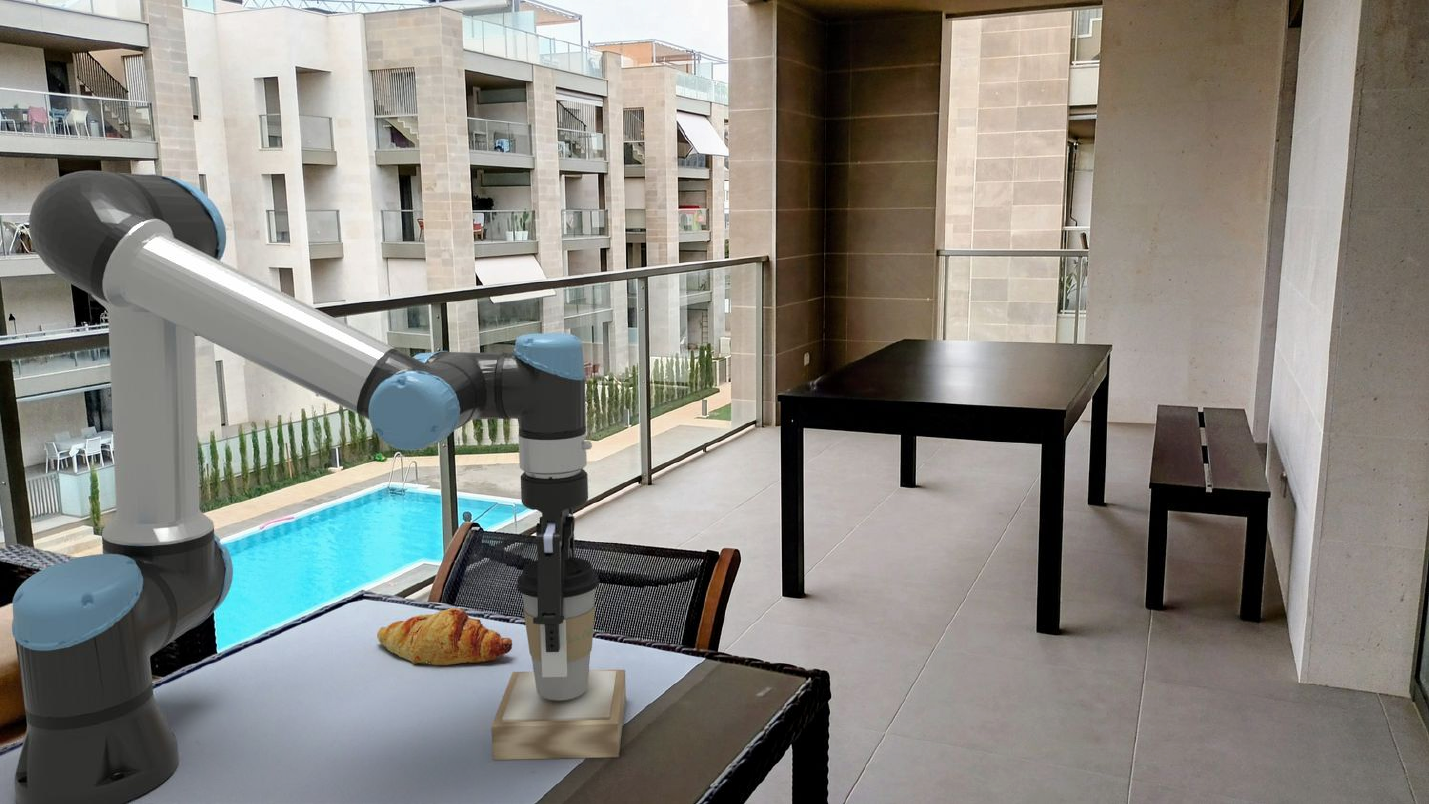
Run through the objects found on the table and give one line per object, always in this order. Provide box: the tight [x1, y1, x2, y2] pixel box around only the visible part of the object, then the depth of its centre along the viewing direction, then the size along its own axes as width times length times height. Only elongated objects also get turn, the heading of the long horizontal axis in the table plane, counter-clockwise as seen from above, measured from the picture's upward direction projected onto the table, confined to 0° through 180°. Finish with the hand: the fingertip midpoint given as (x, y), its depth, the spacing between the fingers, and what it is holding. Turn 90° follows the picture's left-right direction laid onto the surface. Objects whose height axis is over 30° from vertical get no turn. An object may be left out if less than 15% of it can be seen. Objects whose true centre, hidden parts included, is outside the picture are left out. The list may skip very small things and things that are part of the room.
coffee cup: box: [516, 556, 600, 701], centre depth 118 cm, size 9×9×15 cm
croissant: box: [376, 607, 513, 666], centre depth 141 cm, size 21×10×8 cm, turn 75°
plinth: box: [491, 669, 627, 761], centre depth 119 cm, size 14×14×4 cm
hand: (560, 656), depth 118 cm, fingers closed on coffee cup, 9 cm apart
